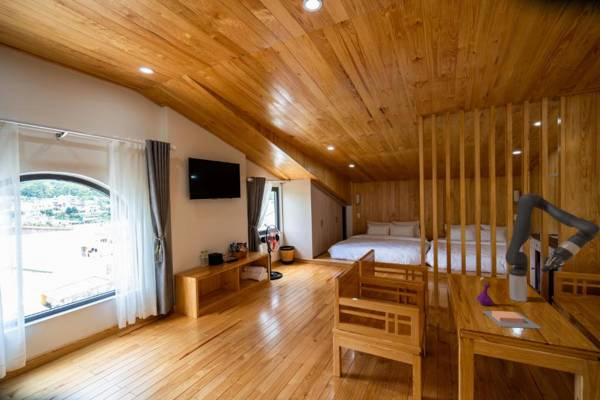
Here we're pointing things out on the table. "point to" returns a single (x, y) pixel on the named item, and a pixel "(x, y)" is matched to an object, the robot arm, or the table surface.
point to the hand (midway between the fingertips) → (542, 271)
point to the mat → (526, 323)
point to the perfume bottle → (485, 295)
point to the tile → (507, 317)
